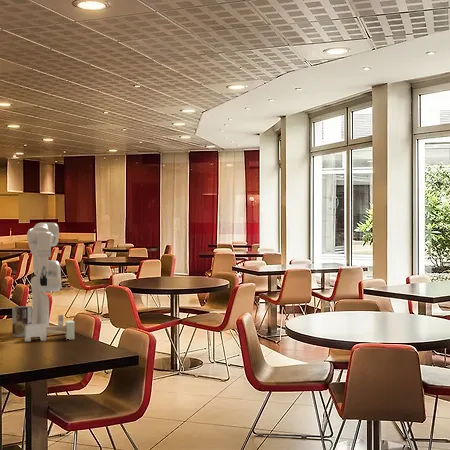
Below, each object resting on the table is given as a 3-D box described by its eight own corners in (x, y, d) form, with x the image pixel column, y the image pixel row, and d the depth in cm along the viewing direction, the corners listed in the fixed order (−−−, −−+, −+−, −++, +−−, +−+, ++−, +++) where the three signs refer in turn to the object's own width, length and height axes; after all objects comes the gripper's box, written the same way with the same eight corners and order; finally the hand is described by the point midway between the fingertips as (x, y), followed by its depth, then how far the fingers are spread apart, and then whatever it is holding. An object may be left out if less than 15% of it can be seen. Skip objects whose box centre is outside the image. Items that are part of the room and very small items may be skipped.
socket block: (65, 337, 363) (65, 320, 363) (73, 337, 364) (73, 320, 364) (66, 339, 355) (66, 322, 355) (74, 339, 356) (74, 322, 356)
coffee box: (32, 335, 370) (32, 306, 370) (27, 337, 363) (27, 307, 364) (16, 334, 371) (16, 306, 371) (11, 336, 364) (11, 307, 364)
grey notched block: (24, 339, 356) (24, 324, 356) (45, 338, 359) (45, 323, 359) (24, 341, 348) (25, 326, 348) (46, 340, 352) (46, 325, 352)
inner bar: (37, 333, 356) (38, 315, 356) (70, 331, 361) (70, 314, 361) (38, 334, 353) (38, 316, 353) (70, 332, 358) (70, 315, 358)
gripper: (36, 253, 373) (35, 284, 373) (37, 254, 357) (37, 286, 357) (49, 253, 376) (49, 283, 375) (51, 254, 359) (51, 286, 359)
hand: (43, 285), depth 366 cm, fingers open, 9 cm apart
